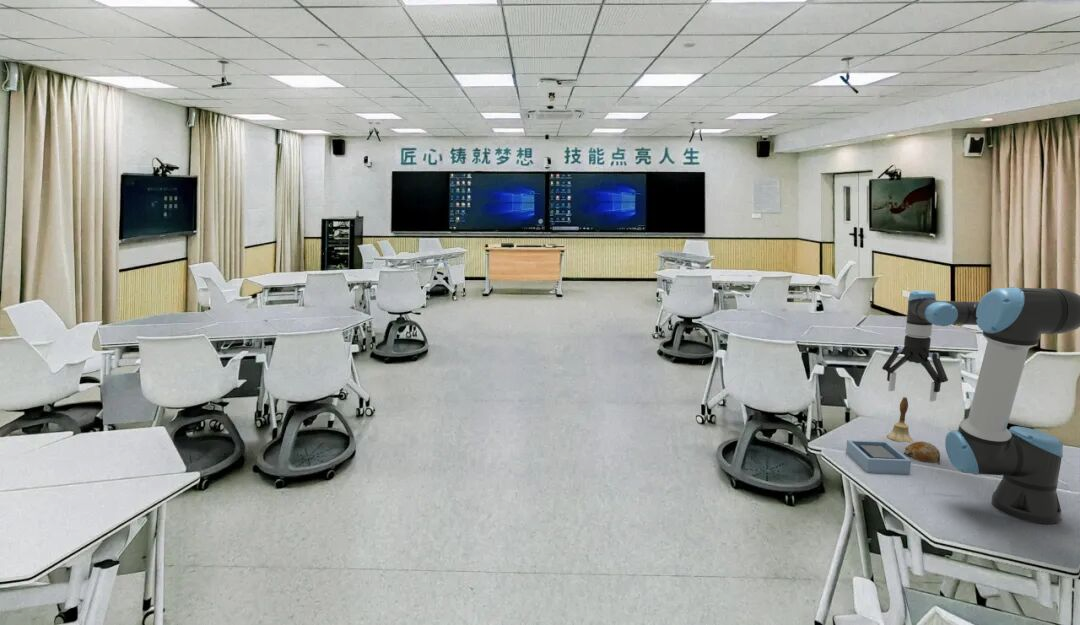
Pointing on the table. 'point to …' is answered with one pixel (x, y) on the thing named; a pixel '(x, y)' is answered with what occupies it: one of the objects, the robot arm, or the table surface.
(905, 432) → the hand bell
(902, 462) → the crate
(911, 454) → the bread roll
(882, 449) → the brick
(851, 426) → the table surface
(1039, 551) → the table surface
